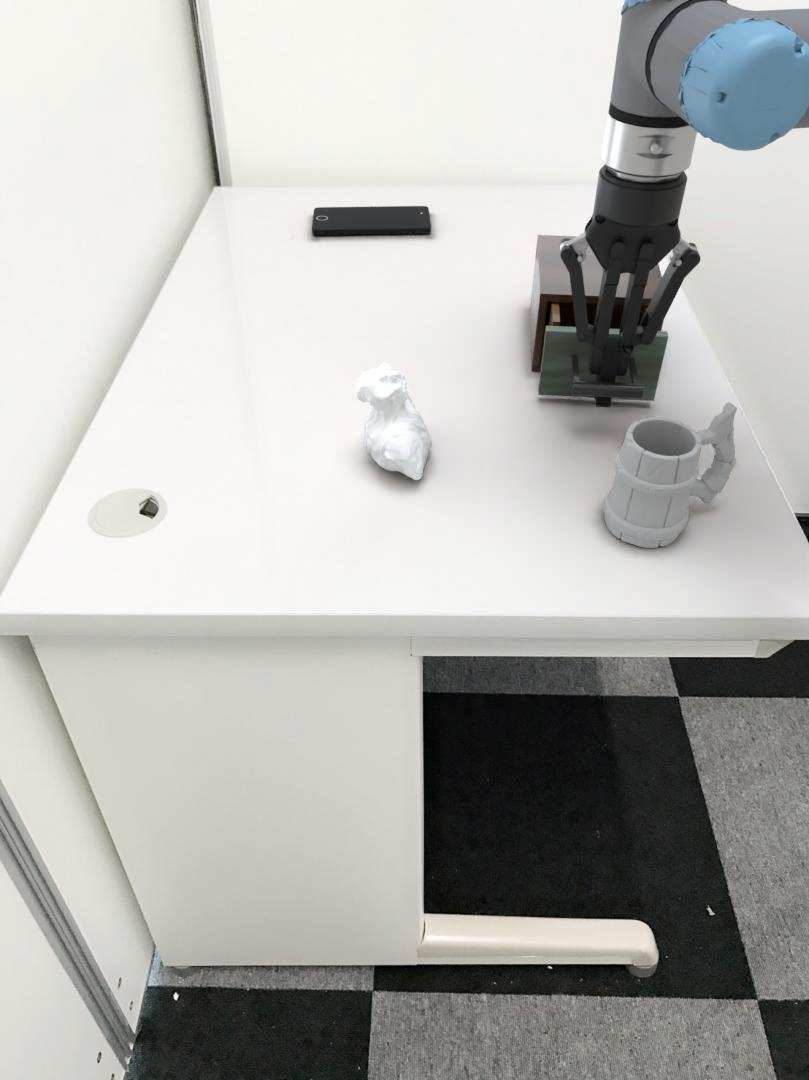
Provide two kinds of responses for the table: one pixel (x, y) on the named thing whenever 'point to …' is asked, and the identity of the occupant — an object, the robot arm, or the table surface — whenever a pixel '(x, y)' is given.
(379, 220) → the cell phone
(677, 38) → the robot arm
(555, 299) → the cabinet
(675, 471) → the mug
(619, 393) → the drawer
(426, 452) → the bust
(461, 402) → the table surface
